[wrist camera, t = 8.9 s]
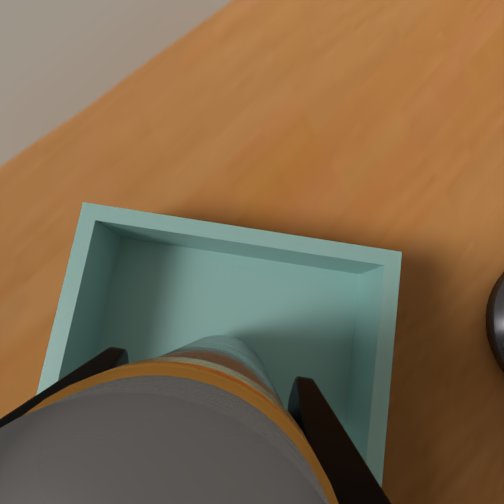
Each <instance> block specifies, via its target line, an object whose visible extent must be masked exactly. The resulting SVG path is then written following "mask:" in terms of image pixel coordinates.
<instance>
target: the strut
mask: <svg viewBox="0 0 504 504" xmlns="http://www.w3.org/2000/svg"><path fill="white" fill-rule="evenodd" d="M0 504H339V503H338V501H337V498H336V496H335V493H334V491H333V488H332V486H331V483H330V481H329V479H328V477H327V476H326V474H325V472H324V470H323V468H322V466H321V464H320V463H319V461H318V459H317V457H316V455H315V453H314V451H313V449H312V448H311V446H310V444H309V442H308V440H307V439H306V437H305V435H304V433H303V431H302V430H301V428H300V427H299V426H298V424H297V423H296V422H295V420H294V419H293V417H292V416H291V415H290V413H289V412H288V411H287V410H286V409H285V408H284V406H283V404H282V401H281V399H280V397H279V395H278V393H277V391H276V389H275V387H274V384H273V382H272V380H271V378H270V376H269V374H268V372H267V370H266V367H265V365H264V363H263V362H262V360H261V358H260V357H259V355H258V354H257V353H256V352H255V351H254V350H253V349H252V348H251V347H250V346H249V345H248V344H246V343H244V342H243V341H241V340H239V339H236V338H234V337H230V336H224V335H213V336H207V337H203V338H201V339H198V340H196V341H194V342H191V343H189V344H187V345H184V346H182V347H180V348H177V349H175V350H173V351H171V352H168V353H166V354H164V355H161V356H159V357H157V358H151V359H143V360H139V361H135V362H131V363H128V364H124V365H121V366H118V367H115V368H113V369H110V370H107V371H105V372H102V373H99V374H97V375H94V376H91V377H89V378H86V379H84V380H82V381H79V382H77V383H74V384H72V385H69V386H67V387H66V388H64V389H62V390H60V391H58V392H57V393H55V394H53V395H51V396H50V397H48V398H46V399H44V400H43V401H42V402H40V403H39V404H38V405H36V406H35V407H34V408H32V409H31V410H29V411H28V412H27V413H25V414H24V415H23V416H21V417H19V418H17V419H15V420H14V421H12V422H10V423H8V424H6V425H5V426H3V427H1V428H0Z"/></svg>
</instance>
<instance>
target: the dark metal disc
mask: <svg viewBox="0 0 504 504" xmlns="http://www.w3.org/2000/svg"><path fill="white" fill-rule="evenodd" d="M486 328H487V335H488V339H489V343H490V346H491V349H492V351H493V354H494V356H495V358H496V360H497V362H498V364H499V365H500V367H501V368H502V370H503V371H504V272H503V274H502V275H501V276H500V278H499V279H498V280H497V282H496V284H495V285H494V287H493V289H492V292H491V294H490V297H489V301H488V305H487V312H486Z"/></svg>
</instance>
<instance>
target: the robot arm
mask: <svg viewBox="0 0 504 504" xmlns="http://www.w3.org/2000/svg"><path fill="white" fill-rule="evenodd" d="M128 363H129V359H128V352H127V350H126V349H123V348H117V347H109V348H107V349H106V350H104V351H103V352H101V353H99V354H98V355H96V356H95V357H93V358H92V359H90V360H89V361H87V362H86V363H84V364H83V365H81V366H80V367H78V368H77V369H75V370H74V371H72V372H71V373H69V374H68V375H66V376H65V377H63V378H62V379H60V380H59V381H57V382H56V383H54V384H53V385H51V386H50V387H48V388H47V389H45V390H44V391H42V392H40V393H39V394H37V395H36V396H34V397H33V398H31V399H30V400H28V401H27V402H25V403H24V404H22V405H21V406H19V407H18V408H16V409H15V410H13V411H12V412H10V413H9V414H7V415H6V416H4V417H3V418H1V419H0V428H1V427H3V426H5V425H6V424H8V423H10V422H12V421H14V420H15V419H17V418H19V417H21V416H23V415H24V414H25V413H27V412H28V411H29V410H31V409H32V408H34V407H35V406H36V405H38V404H39V403H40V402H42V401H43V400H44V399H46V398H48V397H50V396H51V395H53V394H55V393H57V392H58V391H60V390H62V389H64V388H66V387H67V386H69V385H72V384H74V383H77V382H79V381H82V380H84V379H86V378H89V377H91V376H94V375H97V374H99V373H102V372H105V371H107V370H110V369H113V368H115V367H118V366H121V365H124V364H128ZM288 412H289V413H290V415H291V416H292V417H293V419H294V420H295V422H296V423H297V424H298V426H299V427H300V428H301V430H302V431H303V433H304V435H305V437H306V439H307V440H308V442H309V444H310V446H311V448H312V449H313V451H314V453H315V455H316V457H317V459H318V461H319V463H320V464H321V466H322V468H323V470H324V472H325V474H326V476H327V477H328V479H329V481H330V483H331V486H332V488H333V491H334V493H335V496H336V498H337V501H338V503H339V504H391V503H390V501H389V499H388V498H387V496H386V495H385V493H384V491H383V490H382V488H381V487H380V485H379V483H378V482H377V480H376V479H375V477H374V475H373V474H372V472H371V471H370V469H369V467H368V466H367V464H366V463H365V461H364V459H363V458H362V456H361V455H360V453H359V451H358V450H357V448H356V447H355V445H354V443H353V442H352V440H351V439H350V437H349V435H348V434H347V432H346V431H345V429H344V427H343V426H342V424H341V423H340V421H339V419H338V418H337V416H336V415H335V413H334V411H333V410H332V408H331V407H330V405H329V403H328V402H327V400H326V399H325V397H324V395H323V394H322V392H321V391H320V389H319V387H318V386H317V384H316V383H315V381H314V380H313V379H312V378H309V377H302V376H297V377H295V379H294V383H293V386H292V389H291V393H290V396H289V401H288Z"/></svg>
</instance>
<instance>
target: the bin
mask: <svg viewBox="0 0 504 504" xmlns="http://www.w3.org/2000/svg"><path fill="white" fill-rule="evenodd" d="M401 258H402V252H400V251H393V250H387V249H381V248H374V247H368V246H361V245H355V244H348V243H342V242H336V241H329V240H323V239H316V238H310V237H303V236H297V235H291V234H284V233H278V232H271V231H265V230H258V229H252V228H246V227H239V226H233V225H226V224H220V223H213V222H207V221H201V220H194V219H188V218H181V217H175V216H168V215H162V214H156V213H149V212H143V211H136V210H130V209H123V208H117V207H111V206H104V205H98V204H91V203H85V202H83V204H82V209H81V213H80V217H79V221H78V225H77V229H76V233H75V237H74V242H73V246H72V250H71V254H70V258H69V262H68V266H67V271H66V275H65V279H64V283H63V287H62V291H61V295H60V300H59V304H58V308H57V312H56V316H55V320H54V324H53V328H52V333H51V337H50V341H49V345H48V349H47V353H46V357H45V362H44V366H43V370H42V374H41V378H40V382H39V386H38V390H37V394H39V393H40V392H42V391H44V390H45V389H47V388H48V387H50V386H51V385H53V384H54V383H56V382H57V381H59V380H60V379H62V378H63V377H65V376H66V375H68V374H69V373H71V372H72V371H74V370H75V369H77V368H78V367H80V366H81V365H83V364H84V363H86V362H87V361H89V360H90V359H92V358H93V357H95V356H96V355H98V354H99V353H101V352H103V351H104V350H106V349H107V348H109V347H117V348H123V349H126V350H127V352H128V359H129V363H131V362H135V361H139V360H143V359H151V358H157V357H159V356H161V355H164V354H166V353H168V352H171V351H173V350H175V349H177V348H180V347H182V346H184V345H187V344H189V343H191V342H194V341H196V340H198V339H201V338H203V337H207V336H213V335H224V336H230V337H234V338H236V339H239V340H241V341H243V342H244V343H246V344H248V345H249V346H250V347H251V348H252V349H253V350H254V351H255V352H256V353H257V354H258V355H259V357H260V358H261V360H262V362H263V363H264V365H265V367H266V370H267V372H268V374H269V376H270V378H271V380H272V382H273V384H274V387H275V389H276V391H277V393H278V395H279V397H280V399H281V401H282V404H283V406H284V408H285V409H286V410H287V411H288V401H289V396H290V393H291V389H292V386H293V383H294V379H295V377H297V376H302V377H309V378H312V379H313V380H314V381H315V383H316V384H317V386H318V387H319V389H320V391H321V392H322V394H323V395H324V397H325V399H326V400H327V402H328V403H329V405H330V407H331V408H332V410H333V411H334V413H335V415H336V416H337V418H338V419H339V421H340V423H341V424H342V426H343V427H344V429H345V431H346V432H347V434H348V435H349V437H350V439H351V440H352V442H353V443H354V445H355V447H356V448H357V450H358V451H359V453H360V455H361V456H362V458H363V459H364V461H365V463H366V464H367V466H368V467H369V469H370V471H371V472H372V474H373V475H374V477H375V479H376V480H377V482H378V483H379V485H380V487H381V488H382V477H383V466H384V454H385V443H386V431H387V420H388V408H389V396H390V385H391V373H392V362H393V350H394V339H395V327H396V316H397V304H398V293H399V281H400V270H401Z"/></svg>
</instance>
